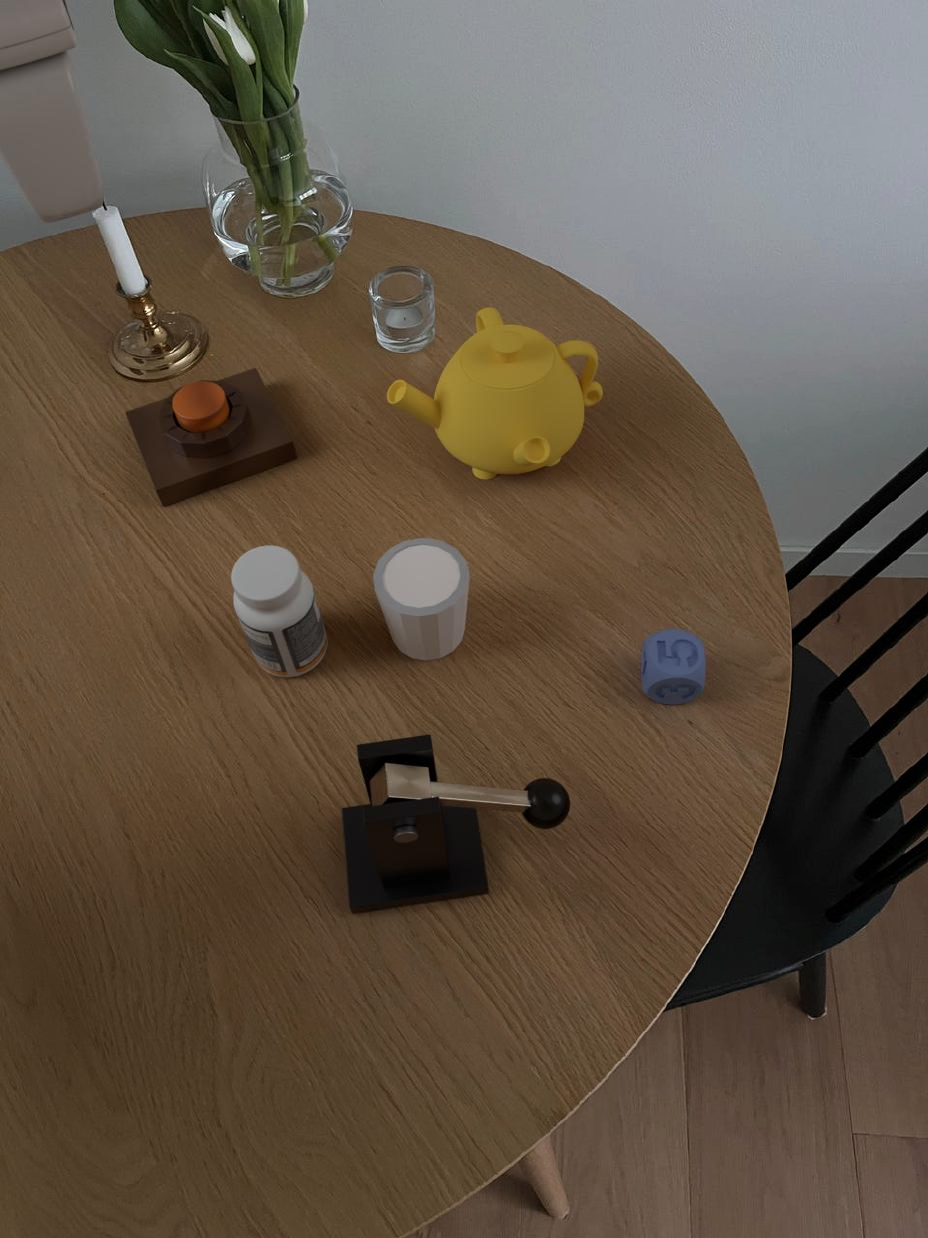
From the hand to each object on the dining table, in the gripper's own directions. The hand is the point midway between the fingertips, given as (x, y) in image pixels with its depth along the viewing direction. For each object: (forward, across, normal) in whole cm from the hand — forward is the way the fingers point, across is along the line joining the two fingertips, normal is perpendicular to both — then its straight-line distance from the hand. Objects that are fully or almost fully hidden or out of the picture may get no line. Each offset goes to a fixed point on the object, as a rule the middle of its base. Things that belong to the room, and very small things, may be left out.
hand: (66, 198), depth 64 cm
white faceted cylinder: (+29, +20, +13) cm, 38 cm away
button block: (+29, -6, +4) cm, 30 cm away
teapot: (+29, +6, +26) cm, 40 cm away
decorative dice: (+29, +32, +27) cm, 51 cm away
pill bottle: (+29, +17, +3) cm, 34 cm away
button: (+26, -6, +4) cm, 26 cm away
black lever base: (+29, +36, +5) cm, 47 cm away
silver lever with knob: (+23, +37, +8) cm, 44 cm away
